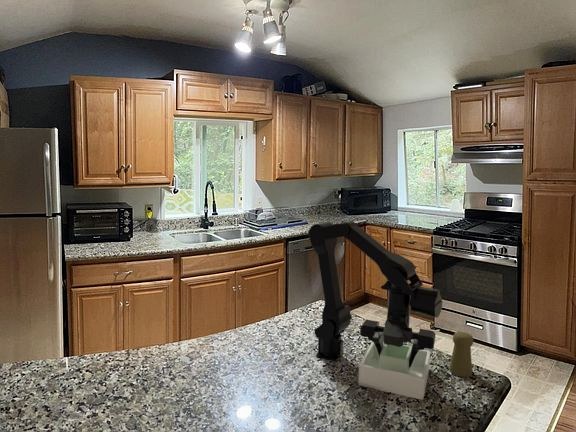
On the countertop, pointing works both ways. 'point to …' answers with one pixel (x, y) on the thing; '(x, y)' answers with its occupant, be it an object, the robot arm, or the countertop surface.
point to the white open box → (395, 374)
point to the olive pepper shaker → (461, 355)
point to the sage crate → (395, 358)
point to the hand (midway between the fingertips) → (395, 363)
